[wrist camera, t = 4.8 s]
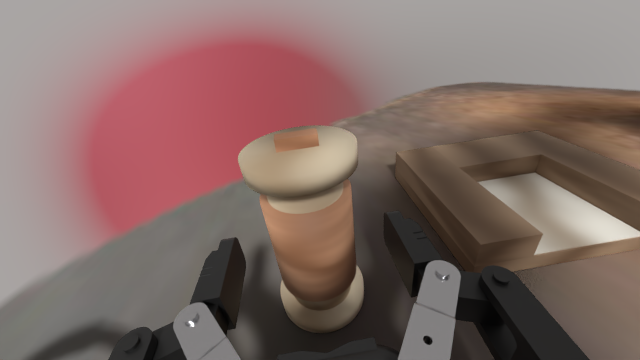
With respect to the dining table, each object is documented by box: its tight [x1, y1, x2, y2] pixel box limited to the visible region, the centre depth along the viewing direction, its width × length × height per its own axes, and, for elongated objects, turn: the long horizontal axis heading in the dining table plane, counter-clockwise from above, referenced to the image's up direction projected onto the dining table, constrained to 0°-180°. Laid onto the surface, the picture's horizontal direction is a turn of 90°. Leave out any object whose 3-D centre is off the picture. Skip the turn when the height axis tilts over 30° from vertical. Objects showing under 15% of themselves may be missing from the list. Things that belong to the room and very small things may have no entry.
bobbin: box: [238, 126, 364, 333], centre depth 15 cm, size 6×6×12 cm
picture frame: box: [395, 130, 640, 273], centre depth 23 cm, size 16×14×3 cm
